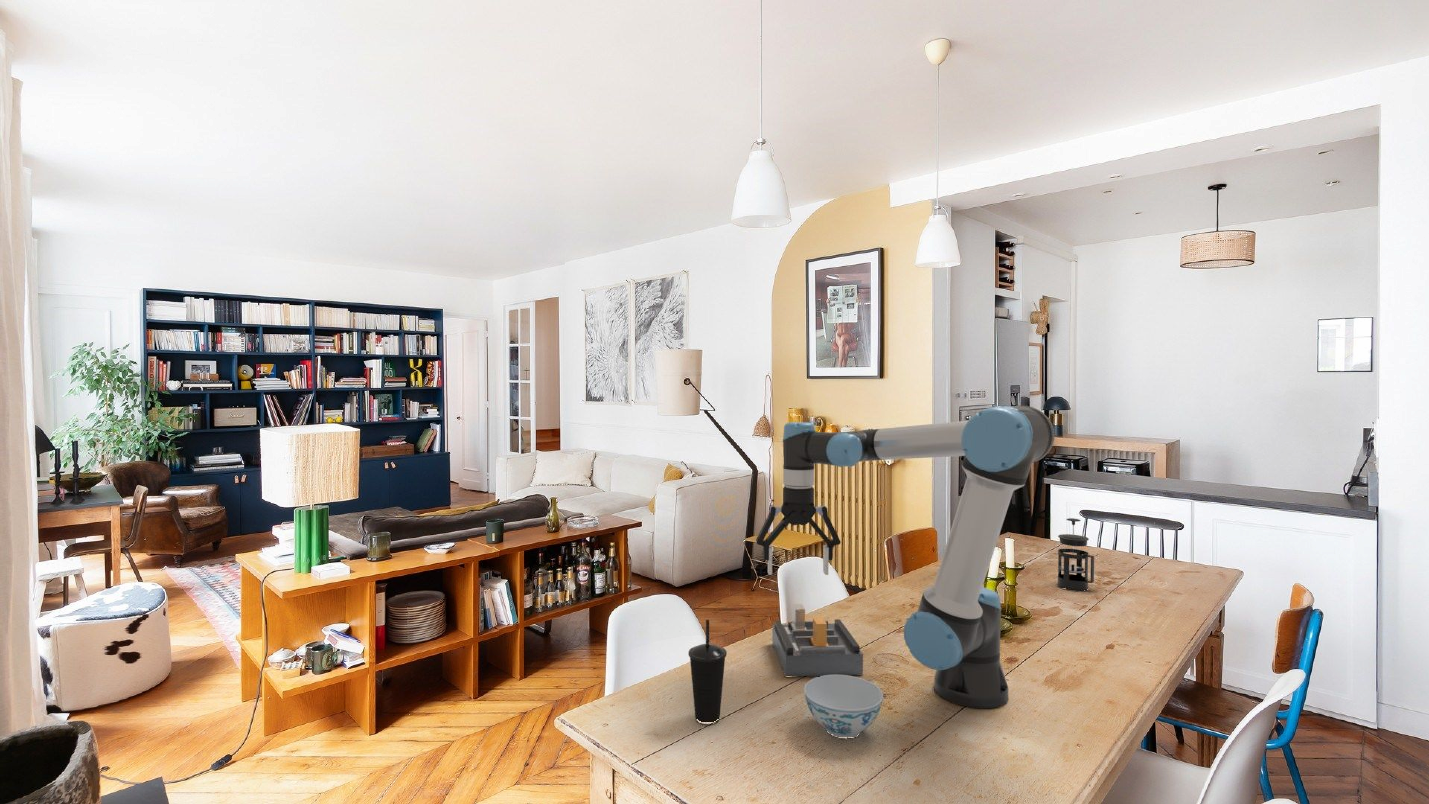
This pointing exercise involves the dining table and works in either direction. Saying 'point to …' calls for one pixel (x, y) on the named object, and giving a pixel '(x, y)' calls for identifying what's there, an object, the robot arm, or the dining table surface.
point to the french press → (1073, 580)
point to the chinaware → (843, 703)
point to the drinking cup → (707, 678)
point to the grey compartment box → (815, 648)
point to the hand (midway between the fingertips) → (797, 573)
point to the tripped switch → (819, 632)
